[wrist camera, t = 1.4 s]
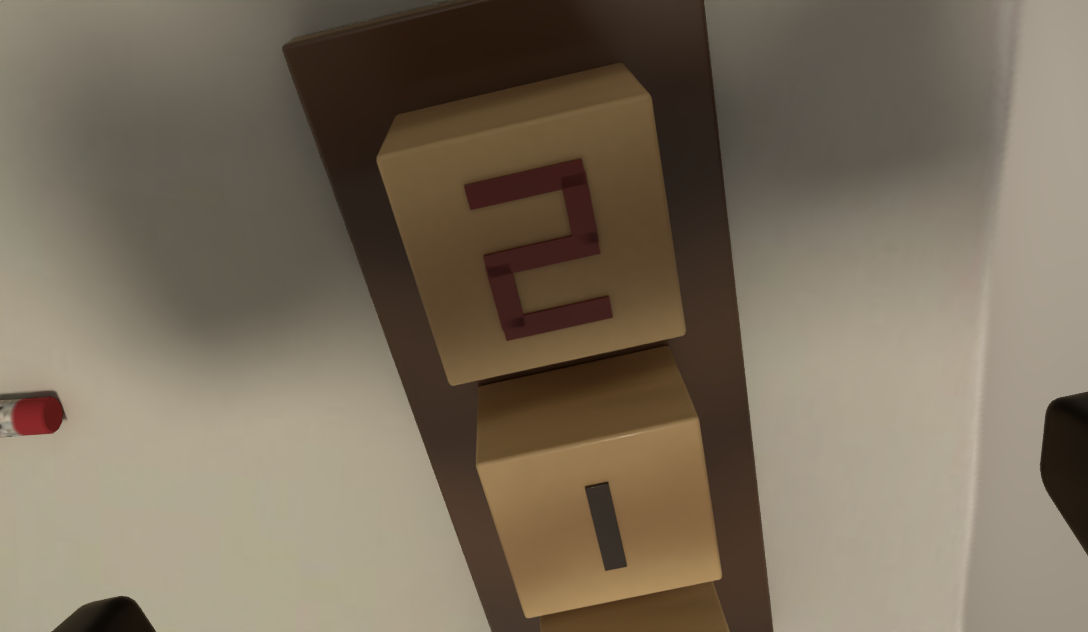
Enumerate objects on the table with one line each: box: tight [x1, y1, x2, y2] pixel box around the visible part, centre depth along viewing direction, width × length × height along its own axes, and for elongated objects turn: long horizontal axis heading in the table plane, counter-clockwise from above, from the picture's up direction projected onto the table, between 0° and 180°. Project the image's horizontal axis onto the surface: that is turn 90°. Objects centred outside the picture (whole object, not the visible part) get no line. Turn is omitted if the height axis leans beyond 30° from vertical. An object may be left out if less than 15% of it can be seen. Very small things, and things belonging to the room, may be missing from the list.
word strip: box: [282, 0, 773, 632], centre depth 18 cm, size 20×8×4 cm, turn 12°
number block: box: [376, 63, 686, 386], centre depth 15 cm, size 5×5×3 cm
